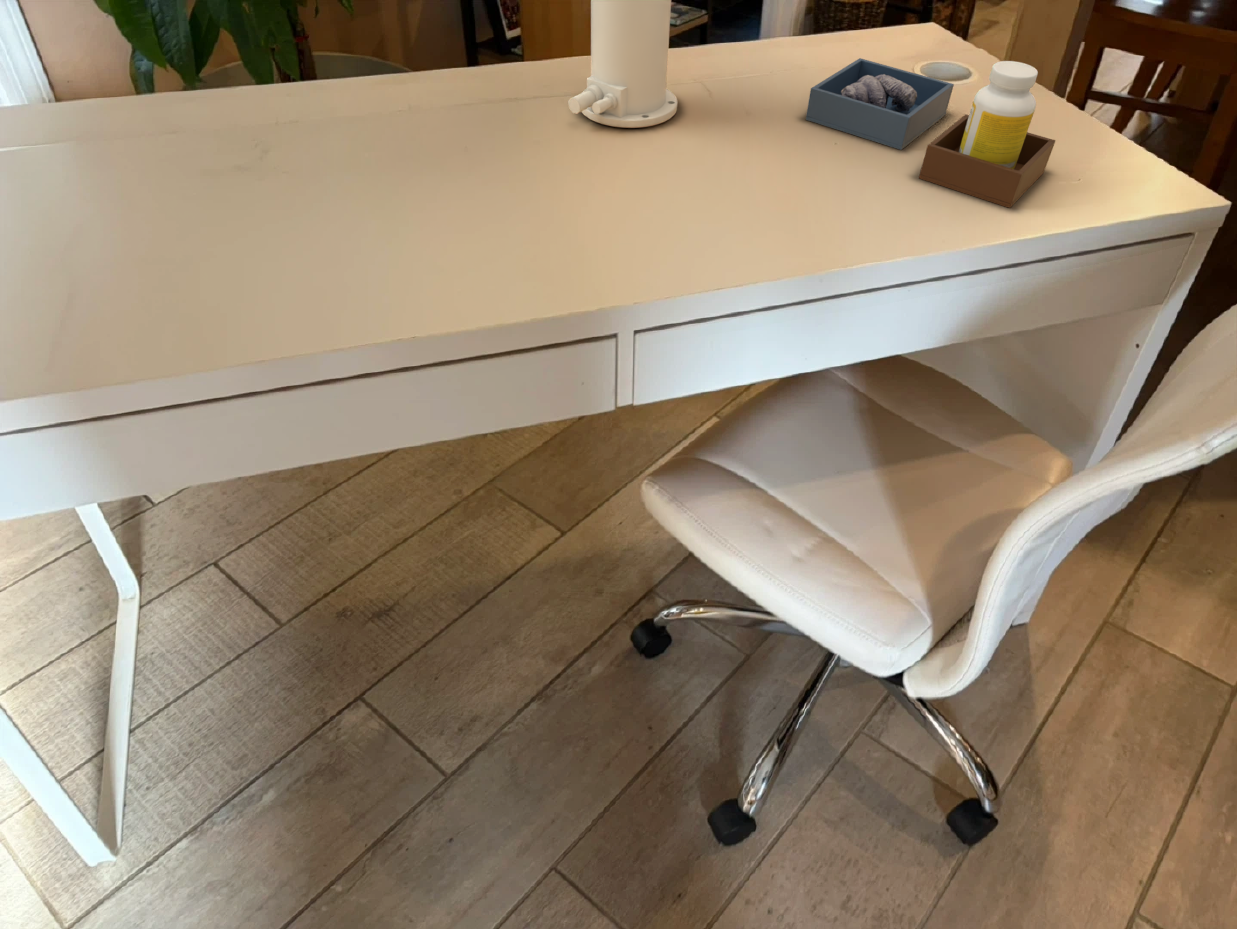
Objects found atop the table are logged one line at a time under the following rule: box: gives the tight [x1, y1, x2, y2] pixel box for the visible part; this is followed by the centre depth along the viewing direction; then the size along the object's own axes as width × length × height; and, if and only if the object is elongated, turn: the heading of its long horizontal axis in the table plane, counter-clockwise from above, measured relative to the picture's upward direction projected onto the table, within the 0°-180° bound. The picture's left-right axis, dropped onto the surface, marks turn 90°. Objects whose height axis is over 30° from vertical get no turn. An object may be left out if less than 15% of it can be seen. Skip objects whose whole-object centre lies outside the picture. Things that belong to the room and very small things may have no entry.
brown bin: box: [918, 114, 1056, 209], centre depth 103 cm, size 11×11×4 cm
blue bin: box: [805, 57, 955, 151], centre depth 114 cm, size 13×13×4 cm
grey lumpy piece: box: [841, 74, 917, 112], centre depth 113 cm, size 5×5×10 cm
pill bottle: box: [959, 60, 1039, 169], centre depth 100 cm, size 6×6×12 cm
